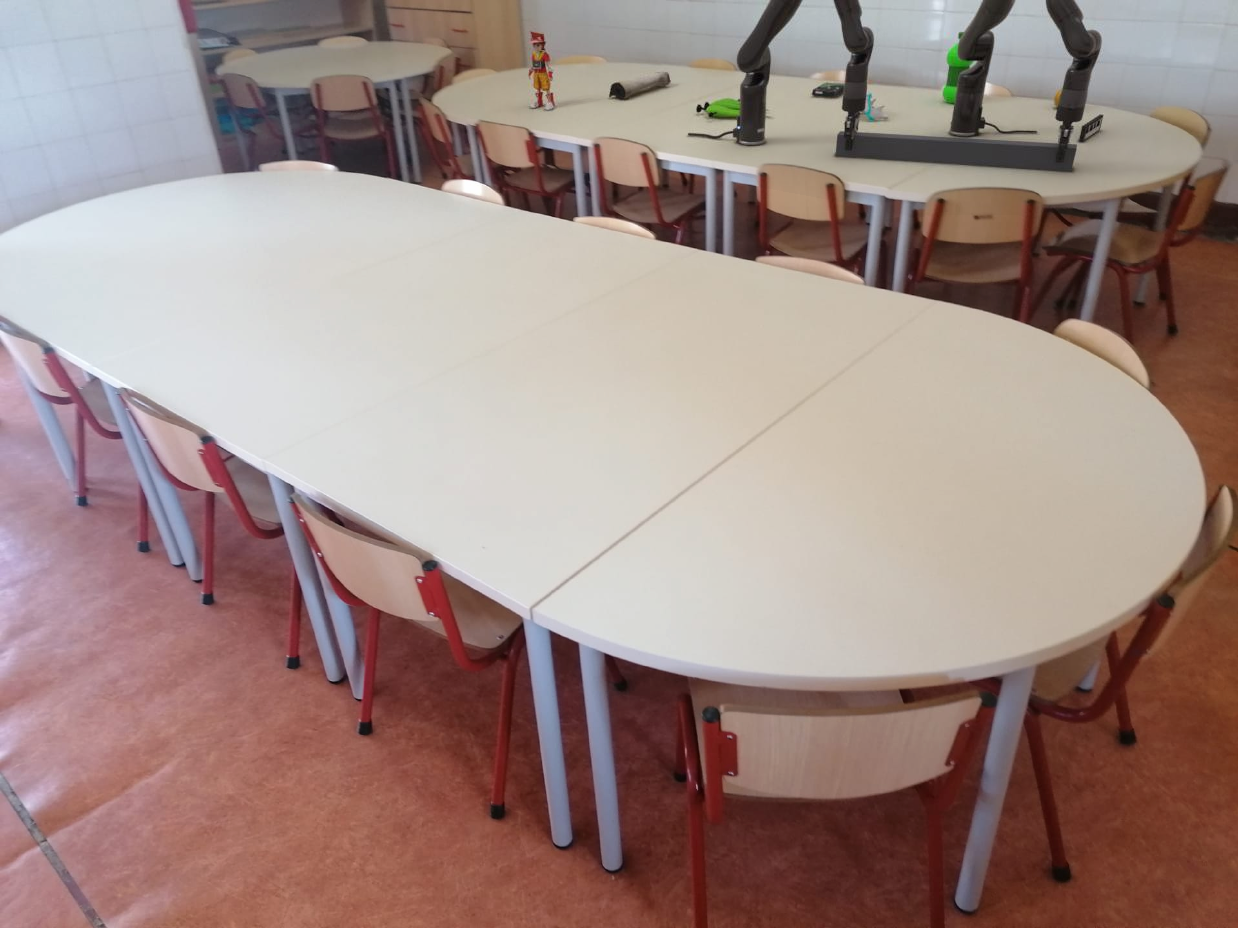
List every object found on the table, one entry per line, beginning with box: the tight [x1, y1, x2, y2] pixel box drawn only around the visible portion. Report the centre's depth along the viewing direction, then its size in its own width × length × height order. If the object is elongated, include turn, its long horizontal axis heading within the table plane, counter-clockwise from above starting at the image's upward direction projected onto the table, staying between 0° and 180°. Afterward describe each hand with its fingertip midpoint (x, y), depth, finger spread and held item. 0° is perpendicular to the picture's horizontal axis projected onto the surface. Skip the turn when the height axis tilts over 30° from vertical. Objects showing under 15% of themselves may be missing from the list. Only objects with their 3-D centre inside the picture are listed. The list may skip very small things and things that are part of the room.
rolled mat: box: [608, 71, 672, 101], centre depth 395 cm, size 30×9×10 cm
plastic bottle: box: [942, 31, 974, 104], centre depth 348 cm, size 10×10×25 cm
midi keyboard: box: [1078, 113, 1104, 142], centre depth 307 cm, size 18×1×5 cm, turn 138°
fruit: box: [1053, 88, 1062, 107], centre depth 337 cm, size 8×8×8 cm
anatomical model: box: [860, 90, 889, 122], centre depth 341 cm, size 15×10×10 cm
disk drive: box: [811, 82, 845, 99], centre depth 376 cm, size 10×3×15 cm
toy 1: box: [527, 31, 556, 111], centre depth 374 cm, size 12×9×30 cm
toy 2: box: [696, 97, 771, 118], centre depth 355 cm, size 28×5×30 cm
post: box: [834, 130, 1078, 172], centre depth 291 cm, size 73×4×7 cm, turn 66°
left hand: (849, 147), depth 303 cm, fingers closed on post, 4 cm apart
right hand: (1059, 158), depth 280 cm, fingers open, 7 cm apart
